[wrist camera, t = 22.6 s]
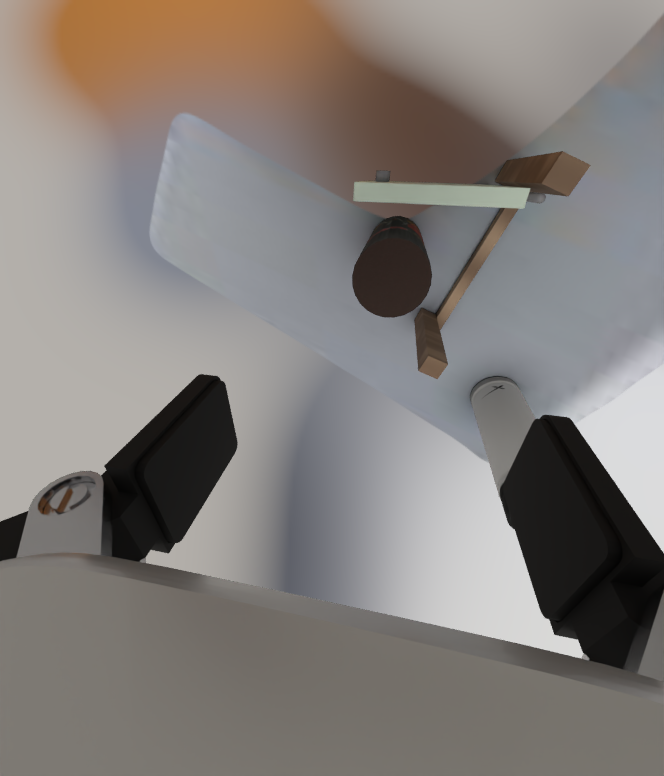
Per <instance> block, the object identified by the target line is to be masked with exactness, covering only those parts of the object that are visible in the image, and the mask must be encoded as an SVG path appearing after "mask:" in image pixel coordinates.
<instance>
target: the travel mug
mask: <svg viewBox="0 0 664 776" xmlns="http://www.w3.org/2000/svg"><path fill="white" fill-rule="evenodd" d="M470 400H471V404H472V407H473V410H474V414H475V417H476V420H477V424H478V427H479V430H480V434H481V437H482V440H483V444H484V447H485V450H486V454H487V457H488V460H489V463H490V467H491V470H492V474H493V477H494V480H495V484H496V487H497V490H498V493H499V497H500V499H501V501H502V504H503V508H504V511H505V514H506V518H507V521H508V523H509V525H510V526H511V527H512V528H513V529H515V528H514V525H513V522H512V519H511V516H510V512H509V509H508V506H507V503H506V500H505V497H504V493H503V484H504V481H505V479H506V476H507V474H508V472H509V470H510V468H511V466H512V464H513V462H514V460H515V458H516V456H517V454H518V452H519V449H520V447H521V445H522V443H523V441H524V439H525V437H526V435H527V433H528V431H529V429H530V427H531V425H532V423H533V421H534V420H535V417H534V415H533V413H532V411H531V410H530V408H529V406H528V404H527V402H526V400H525V399H524V397H523V395H522V393H521V391H520V389H519V388H518V386H517V385H516V383H515V382H513V381H512V380H510V379H508V378H505V377H491V378H487V379H485V380H483V381H481V382H479V383H478V384H477V385H476V386H475V387H474V388H473V390H472V392H471V395H470Z"/></svg>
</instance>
